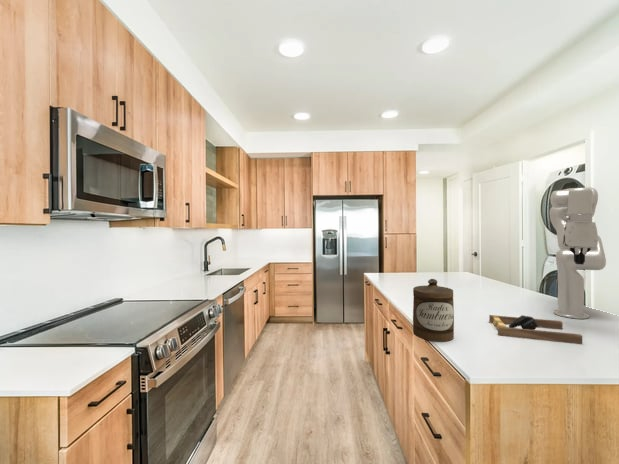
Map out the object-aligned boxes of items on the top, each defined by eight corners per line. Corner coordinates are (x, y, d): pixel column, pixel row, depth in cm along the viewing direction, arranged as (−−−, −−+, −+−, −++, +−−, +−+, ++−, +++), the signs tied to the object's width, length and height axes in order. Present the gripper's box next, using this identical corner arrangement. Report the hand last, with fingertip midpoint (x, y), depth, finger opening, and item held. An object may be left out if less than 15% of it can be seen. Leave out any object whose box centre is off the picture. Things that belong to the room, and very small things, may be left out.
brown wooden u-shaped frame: (489, 321, 136) (489, 314, 136) (560, 328, 127) (560, 320, 127) (498, 335, 119) (498, 327, 119) (582, 344, 110) (582, 335, 110)
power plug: (499, 327, 126) (524, 310, 125) (510, 342, 126) (536, 326, 125) (507, 331, 121) (533, 314, 120) (518, 347, 120) (545, 330, 119)
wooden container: (417, 341, 114) (417, 282, 113) (409, 328, 128) (409, 275, 128) (459, 342, 112) (459, 282, 111) (447, 329, 126) (447, 276, 126)
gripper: (561, 219, 123) (560, 264, 123) (608, 218, 118) (608, 265, 118) (553, 219, 130) (553, 262, 131) (598, 218, 125) (597, 263, 125)
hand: (579, 263), depth 124 cm, fingers closed
